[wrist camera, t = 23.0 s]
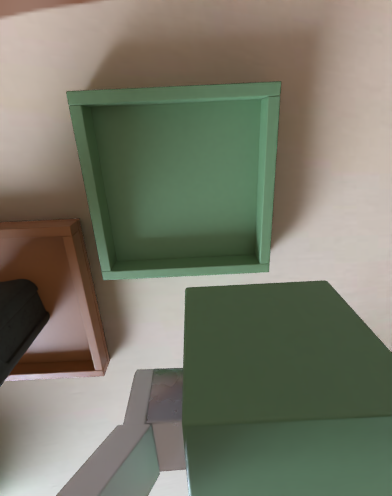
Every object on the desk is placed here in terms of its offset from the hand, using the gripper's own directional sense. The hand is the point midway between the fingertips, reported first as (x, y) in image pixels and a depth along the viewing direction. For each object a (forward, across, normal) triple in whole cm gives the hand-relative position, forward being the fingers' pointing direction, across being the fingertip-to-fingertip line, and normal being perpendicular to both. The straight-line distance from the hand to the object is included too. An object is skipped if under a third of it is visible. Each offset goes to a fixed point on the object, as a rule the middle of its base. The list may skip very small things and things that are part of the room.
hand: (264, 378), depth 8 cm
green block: (+2, 0, 0) cm, 2 cm away
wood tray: (+17, +19, +8) cm, 26 cm away
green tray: (+17, +3, -2) cm, 17 cm away
